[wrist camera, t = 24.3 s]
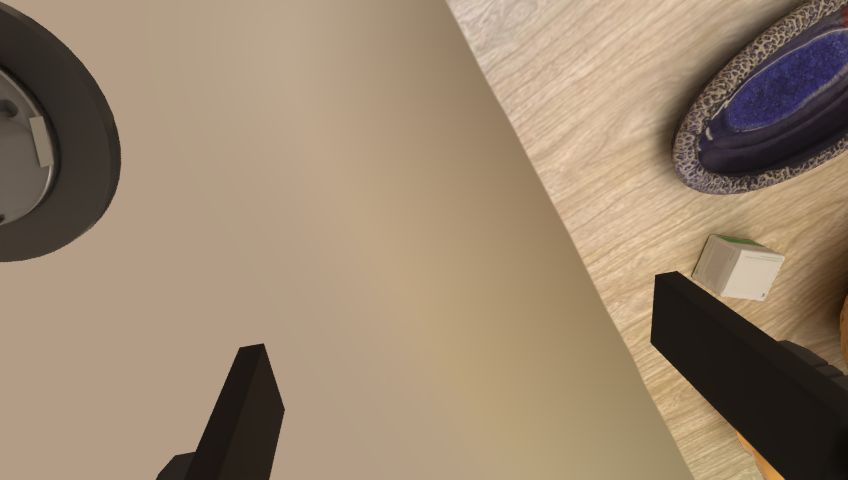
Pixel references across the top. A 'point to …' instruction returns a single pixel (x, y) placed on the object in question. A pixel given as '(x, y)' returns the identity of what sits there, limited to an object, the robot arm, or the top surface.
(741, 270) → the small box
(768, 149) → the dish
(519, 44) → the top surface
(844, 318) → the ceramic bowl
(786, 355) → the robot arm
